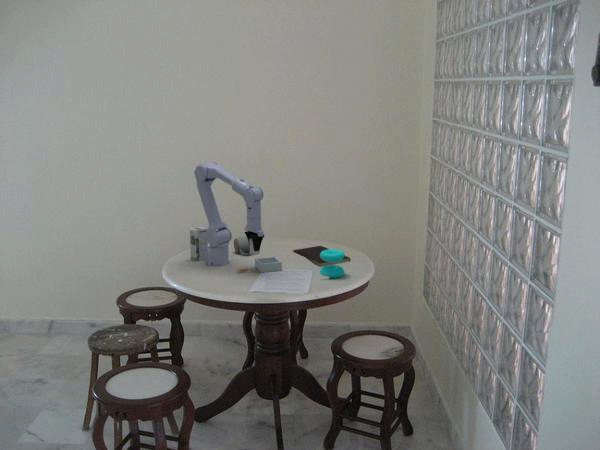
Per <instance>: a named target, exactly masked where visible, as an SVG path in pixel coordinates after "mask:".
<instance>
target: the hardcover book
mask: <svg viewBox="0 0 600 450" xmlns="http://www.w3.org/2000/svg"><path fill="white" fill-rule="evenodd" d="M328 249H329V248H327V247H325V246H323V245H315V246H310V247H304V248H298V249H292V252H293V253H295V254H298V255H300V256H303V257H304V258H306V259H307V260H308V262H309V261H310V263H311V264H314V265H317V266H319V267H324V266H327V265H336V264H339V263H346V262H350V261H351V258H350V257H349V256H347V255H345V256H344V258H343V259H342V260H341V261H338V262H327V261H324V260H322V259H321V257H320V253H321V252H322V251H324V250H328Z"/></svg>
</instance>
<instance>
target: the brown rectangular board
mask: <svg viewBox="0 0 600 450" xmlns="http://www.w3.org/2000/svg"><path fill="white" fill-rule="evenodd" d="M234 272H235V273H236V274H237V275H238V274H239V275H240V274H249V273H251V271H250V269H249V268H238V269H234Z"/></svg>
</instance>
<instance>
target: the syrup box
mask: <svg viewBox="0 0 600 450" xmlns="http://www.w3.org/2000/svg"><path fill="white" fill-rule="evenodd" d="M207 229H208V228H205V227H201V226H195V227H194V226H193V227H191V228H189V242H190V244H189V245H190V246H189V247H190V261H193V262H195V261H196V263H197V262H205V261H206V247H208V245H209V243H208V241H207V232H206V230H207Z"/></svg>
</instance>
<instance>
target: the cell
mask: <svg viewBox="0 0 600 450" xmlns="http://www.w3.org/2000/svg"><path fill="white" fill-rule="evenodd" d="M249 240H250V252H249V253H250V254H252V255H255V256H256V255H260V251H254V248H253V242H252V239H249ZM252 255H251V256H252Z"/></svg>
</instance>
